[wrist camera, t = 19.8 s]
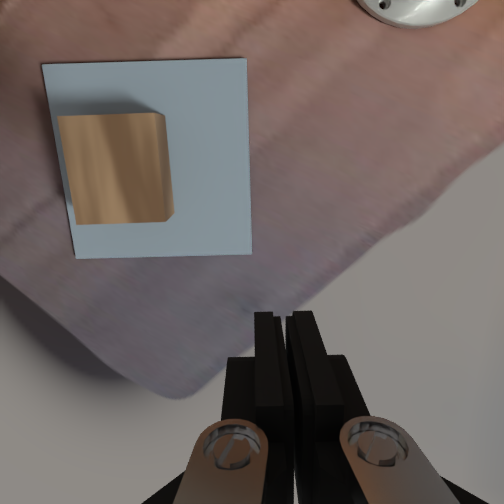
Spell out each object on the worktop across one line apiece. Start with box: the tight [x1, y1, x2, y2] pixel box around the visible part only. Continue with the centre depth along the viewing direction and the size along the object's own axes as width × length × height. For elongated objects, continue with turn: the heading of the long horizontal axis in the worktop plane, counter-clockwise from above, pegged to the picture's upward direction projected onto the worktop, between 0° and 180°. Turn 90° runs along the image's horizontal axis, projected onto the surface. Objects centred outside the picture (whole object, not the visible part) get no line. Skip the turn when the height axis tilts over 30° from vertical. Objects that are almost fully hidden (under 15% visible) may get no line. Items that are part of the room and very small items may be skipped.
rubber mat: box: [42, 58, 252, 259], centre depth 31 cm, size 16×16×1 cm
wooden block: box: [57, 113, 175, 225], centre depth 29 cm, size 4×8×7 cm
